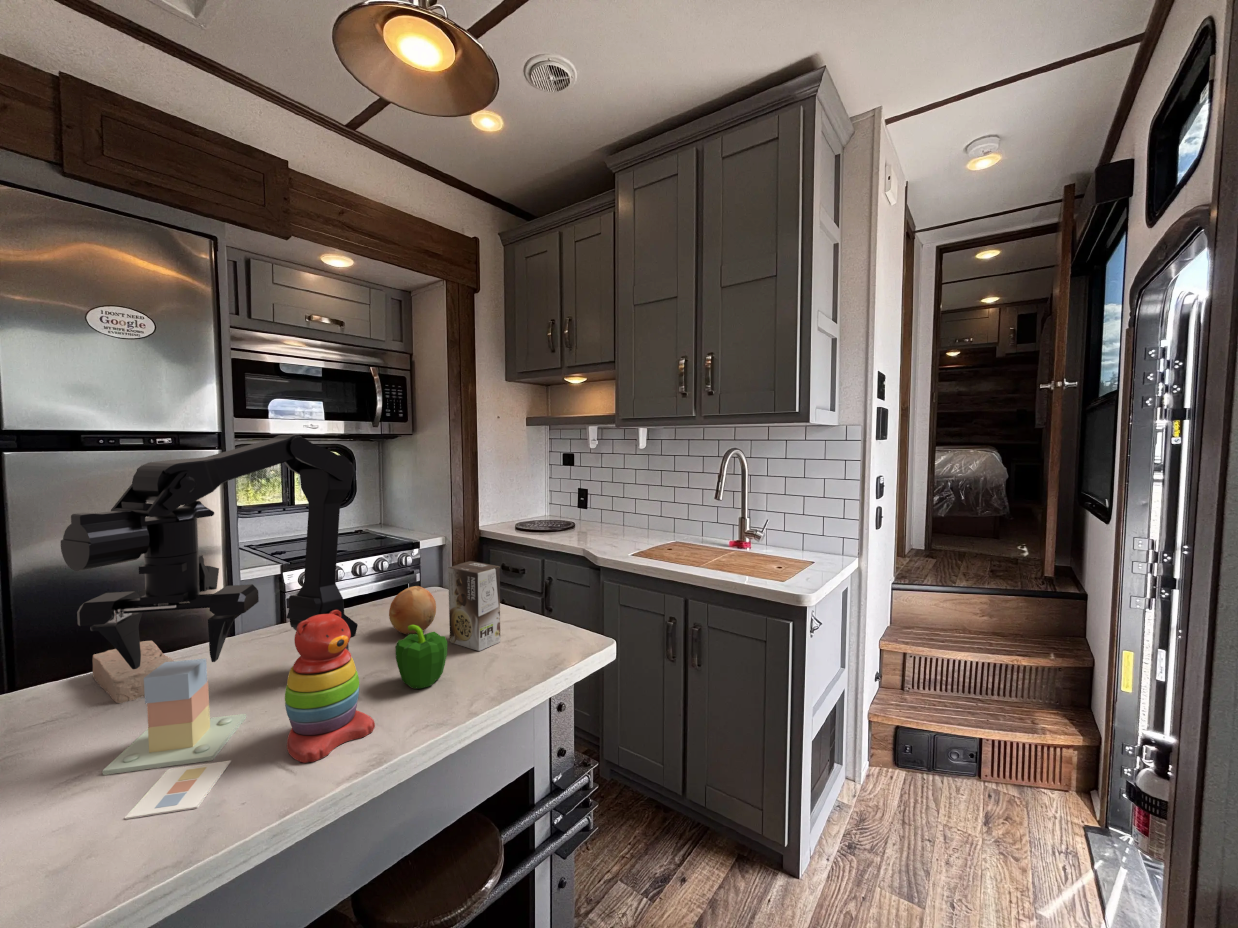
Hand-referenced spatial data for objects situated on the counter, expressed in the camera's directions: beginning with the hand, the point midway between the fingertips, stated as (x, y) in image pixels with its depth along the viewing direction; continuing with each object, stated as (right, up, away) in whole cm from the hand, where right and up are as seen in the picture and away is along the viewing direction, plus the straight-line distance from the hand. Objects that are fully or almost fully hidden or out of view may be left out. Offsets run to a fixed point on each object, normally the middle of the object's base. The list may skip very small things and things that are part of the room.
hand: (176, 664), depth 74 cm
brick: (-23, -11, +19) cm, 32 cm away
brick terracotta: (0, -7, +1) cm, 7 cm away
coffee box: (+31, -10, +37) cm, 50 cm away
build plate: (0, -11, +1) cm, 12 cm away
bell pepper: (+27, -11, +20) cm, 35 cm away
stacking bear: (+19, -12, +3) cm, 23 cm away
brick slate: (0, -4, 0) cm, 4 cm away
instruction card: (+8, -12, -8) cm, 17 cm away
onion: (+16, -9, +43) cm, 47 cm away
